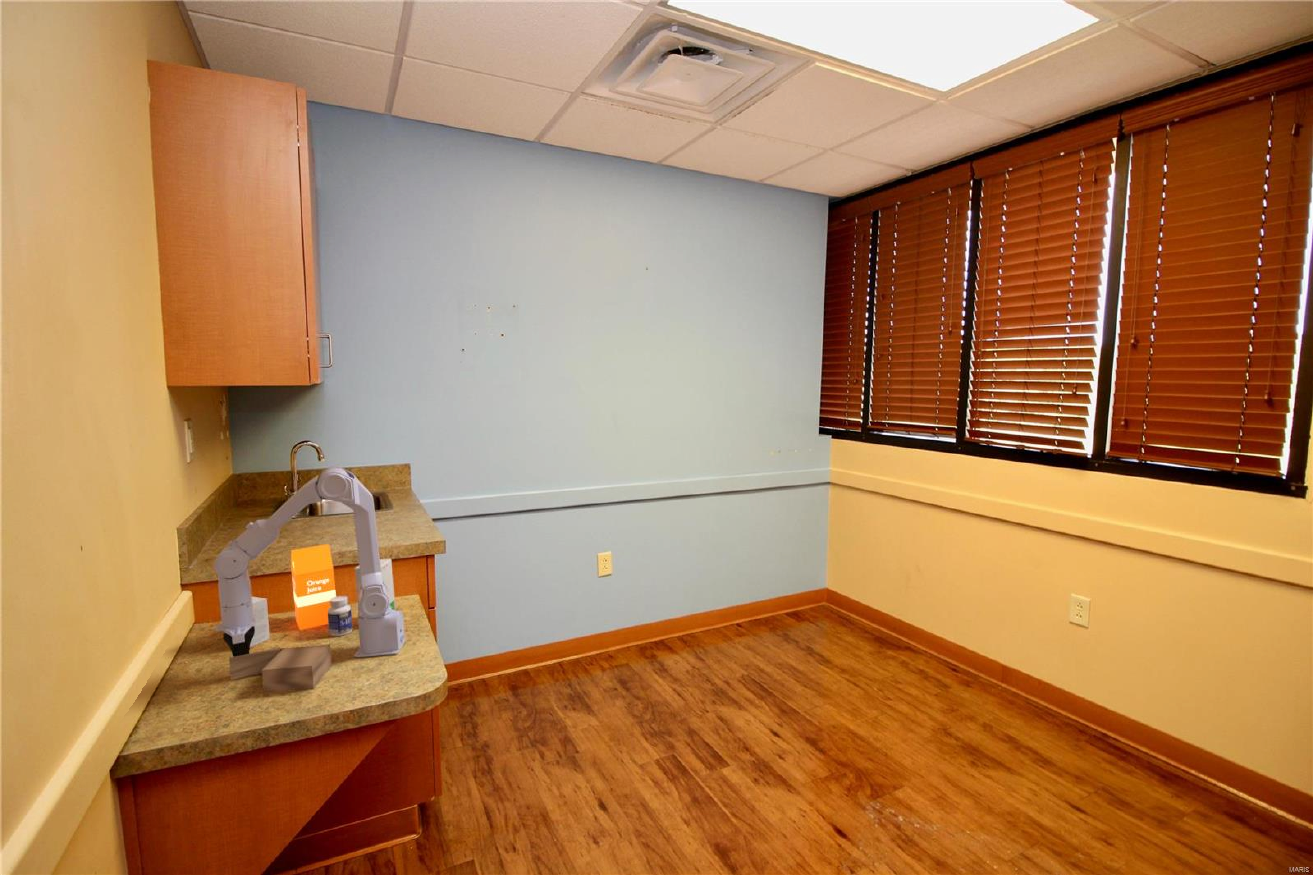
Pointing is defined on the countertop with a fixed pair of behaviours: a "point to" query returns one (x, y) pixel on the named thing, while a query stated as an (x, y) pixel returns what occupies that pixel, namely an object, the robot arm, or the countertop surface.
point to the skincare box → (386, 577)
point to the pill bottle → (339, 616)
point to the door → (251, 663)
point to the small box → (260, 621)
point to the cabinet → (296, 669)
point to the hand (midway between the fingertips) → (242, 663)
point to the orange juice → (312, 585)
